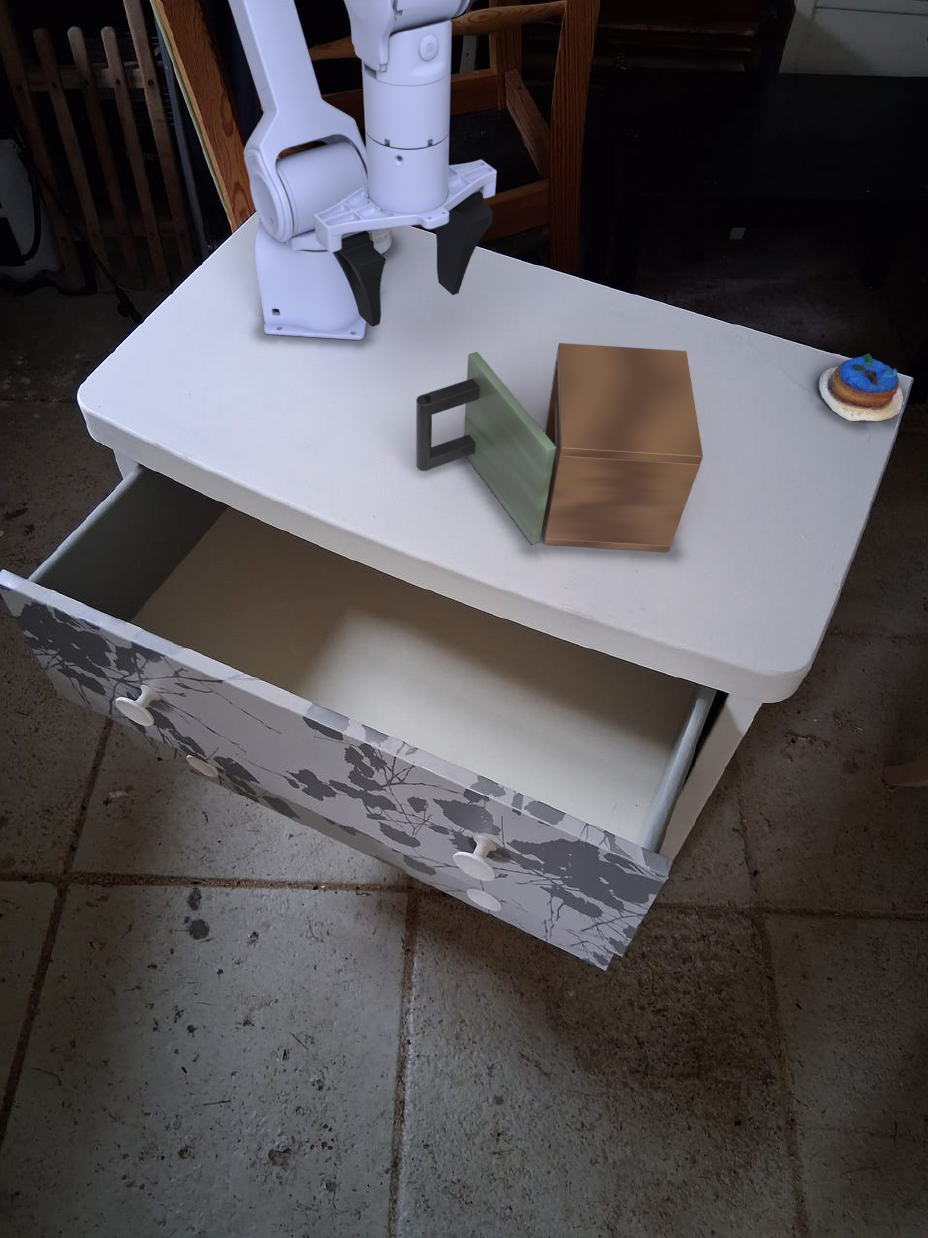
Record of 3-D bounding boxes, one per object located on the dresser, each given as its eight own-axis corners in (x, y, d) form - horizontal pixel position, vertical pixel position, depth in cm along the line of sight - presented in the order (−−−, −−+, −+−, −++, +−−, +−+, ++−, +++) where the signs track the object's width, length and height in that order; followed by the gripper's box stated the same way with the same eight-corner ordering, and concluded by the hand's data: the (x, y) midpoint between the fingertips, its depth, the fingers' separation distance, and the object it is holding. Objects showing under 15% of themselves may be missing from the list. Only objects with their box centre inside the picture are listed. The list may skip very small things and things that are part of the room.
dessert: (833, 420, 80) (847, 351, 78) (800, 412, 86) (812, 348, 84) (916, 426, 81) (932, 358, 79) (878, 417, 87) (891, 354, 85)
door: (475, 567, 69) (483, 473, 61) (409, 470, 75) (408, 372, 66) (540, 541, 71) (556, 446, 63) (470, 449, 77) (477, 350, 68)
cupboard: (543, 545, 71) (561, 447, 62) (542, 443, 78) (558, 342, 69) (668, 552, 71) (703, 456, 62) (656, 450, 78) (686, 350, 69)
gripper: (345, 184, 56) (358, 361, 67) (527, 126, 61) (511, 299, 72) (290, 136, 59) (311, 313, 70) (467, 85, 64) (461, 256, 75)
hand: (409, 303), depth 71 cm, fingers open, 7 cm apart
